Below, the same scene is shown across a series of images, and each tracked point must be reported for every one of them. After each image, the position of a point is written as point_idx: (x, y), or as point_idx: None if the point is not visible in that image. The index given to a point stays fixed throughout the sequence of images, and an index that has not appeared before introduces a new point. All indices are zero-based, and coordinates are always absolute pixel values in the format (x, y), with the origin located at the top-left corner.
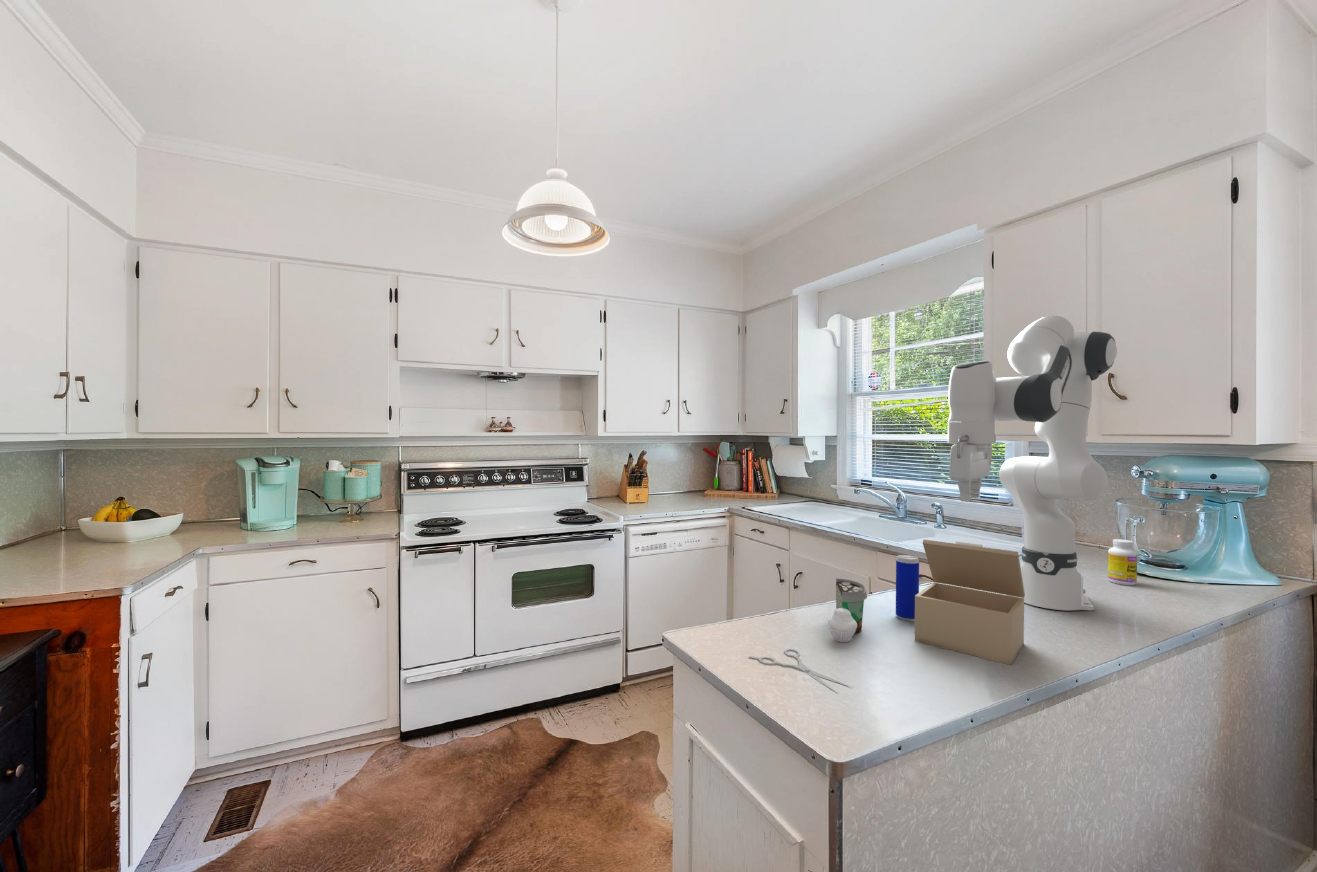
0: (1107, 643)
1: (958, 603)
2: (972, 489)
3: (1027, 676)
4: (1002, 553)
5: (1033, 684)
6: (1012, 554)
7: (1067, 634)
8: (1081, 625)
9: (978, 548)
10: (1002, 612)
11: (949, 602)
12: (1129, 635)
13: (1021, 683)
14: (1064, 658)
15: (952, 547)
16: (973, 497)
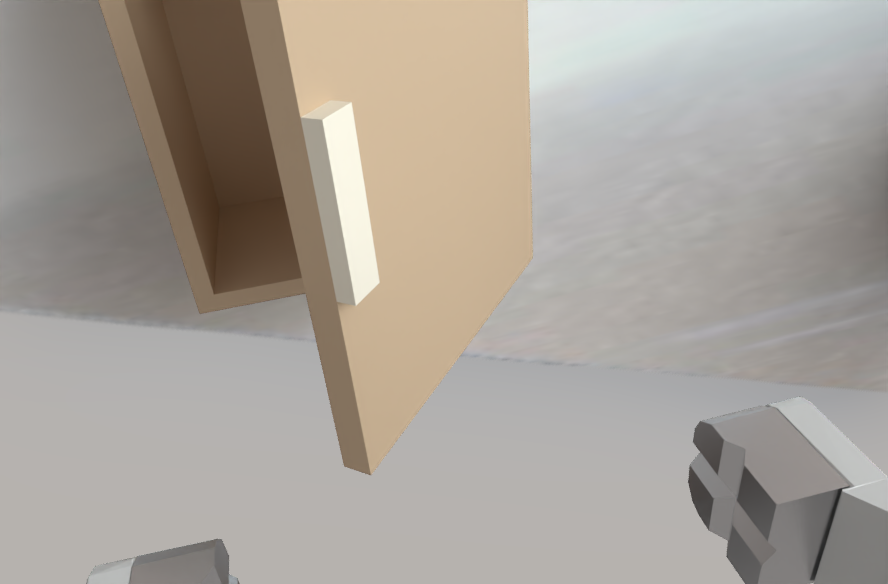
0: (651, 318)
1: (146, 91)
2: (836, 516)
3: (156, 277)
4: (331, 405)
5: (107, 307)
6: (343, 447)
7: (666, 228)
8: (790, 227)
9: (316, 283)
10: (198, 279)
11: (117, 48)
12: (764, 330)
13: (77, 286)
14: None
15: (268, 92)
16: (700, 455)
